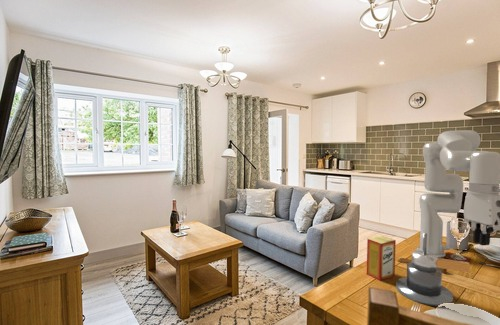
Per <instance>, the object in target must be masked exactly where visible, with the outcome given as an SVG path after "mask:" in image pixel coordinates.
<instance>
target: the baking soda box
mask: <svg viewBox="0 0 500 325" xmlns="http://www.w3.org/2000/svg"><path fill="white" fill-rule="evenodd" d="M366 243H367V244H366V245H367V246H366V247H367V248H366V275H367V276H369V277H371V278H373V279H375V280H377V281H379V282H380V281H383V280H387V279H390V278H392V277H395V276H396V275H395V274H396V273H395V272H396V246H397V245H396V244H397V243H396V239H392V238H391V237H387V236H383V235H379V236H376V237H370V238H367V242H366Z"/></svg>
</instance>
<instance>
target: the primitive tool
mask: <svg viewBox="0 0 500 325" xmlns="http://www.w3.org/2000/svg"><path fill="white" fill-rule="evenodd" d="M397 262H399V263H403V264H406V265H407V264H408V263H409V262H412V259H408V258H404V257H400V258H398V260H397ZM439 269H440V270H441V271H442V274H447V272H448V269H443V268H439Z"/></svg>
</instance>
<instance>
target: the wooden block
mask: <svg viewBox="0 0 500 325" xmlns="http://www.w3.org/2000/svg"><path fill="white" fill-rule="evenodd" d="M426 250H427V233H423V251H422V250H412V251H411V260H412V266H413V267H414V268H416V269H418V270H421V271H425V272H436V271H437V268H443V269H446V270H450V271H457V272H464V273H471V272H470V270H471V264H470V262H469V261H461V260H457V259H456V260H455V259H446V258H443V257H441V258H437V255H435V254H433V253H431V252H427V251H426Z"/></svg>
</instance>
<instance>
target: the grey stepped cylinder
mask: <svg viewBox="0 0 500 325" xmlns="http://www.w3.org/2000/svg"><path fill="white" fill-rule="evenodd" d="M442 275H443V273H442V271H441V270H440V269H439V268H437V271H436V272H425V271H421V270H418V269H416V268H414V267H413V266H412V262H409V263H408V264H406V277H404V276H403V277H400V278H399V279H397V280H396V282H395V288H396V290H397V291H398V293H400V294H401V295H402V296H404V297H405V298H406V299H408V300H411V301H413V302H416V303H418V304H422V305H426V306H430V307H439V306H438V305H440V304H443V303H452V304H454V303H453V302H454V294H453V293H452V292H451V291H450V290H449V289H448V288H446V287H445V286H444V285H442V278H443V276H442Z"/></svg>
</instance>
